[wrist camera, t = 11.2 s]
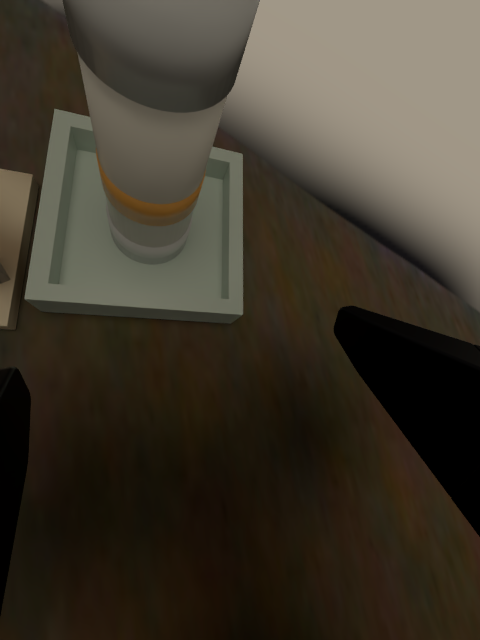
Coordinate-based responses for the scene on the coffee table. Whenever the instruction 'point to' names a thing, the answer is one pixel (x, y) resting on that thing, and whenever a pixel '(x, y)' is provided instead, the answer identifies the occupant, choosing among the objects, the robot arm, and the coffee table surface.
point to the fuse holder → (14, 239)
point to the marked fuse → (156, 107)
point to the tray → (115, 267)
